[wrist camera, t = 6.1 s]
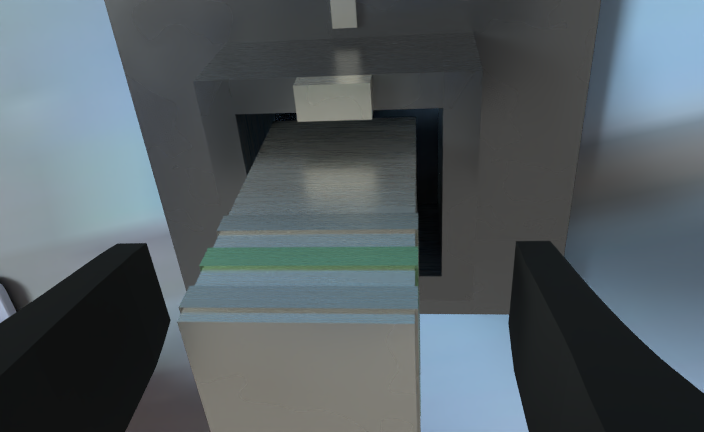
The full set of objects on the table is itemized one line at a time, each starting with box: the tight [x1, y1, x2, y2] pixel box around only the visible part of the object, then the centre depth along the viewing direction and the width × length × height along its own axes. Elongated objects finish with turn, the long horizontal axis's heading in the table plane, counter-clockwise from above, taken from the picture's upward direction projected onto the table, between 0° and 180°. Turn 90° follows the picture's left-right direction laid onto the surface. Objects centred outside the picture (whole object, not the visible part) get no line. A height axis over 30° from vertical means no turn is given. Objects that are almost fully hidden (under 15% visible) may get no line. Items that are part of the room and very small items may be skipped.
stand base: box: [104, 0, 601, 314], centre depth 16 cm, size 12×12×4 cm
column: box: [177, 117, 421, 432], centre depth 12 cm, size 4×4×7 cm
